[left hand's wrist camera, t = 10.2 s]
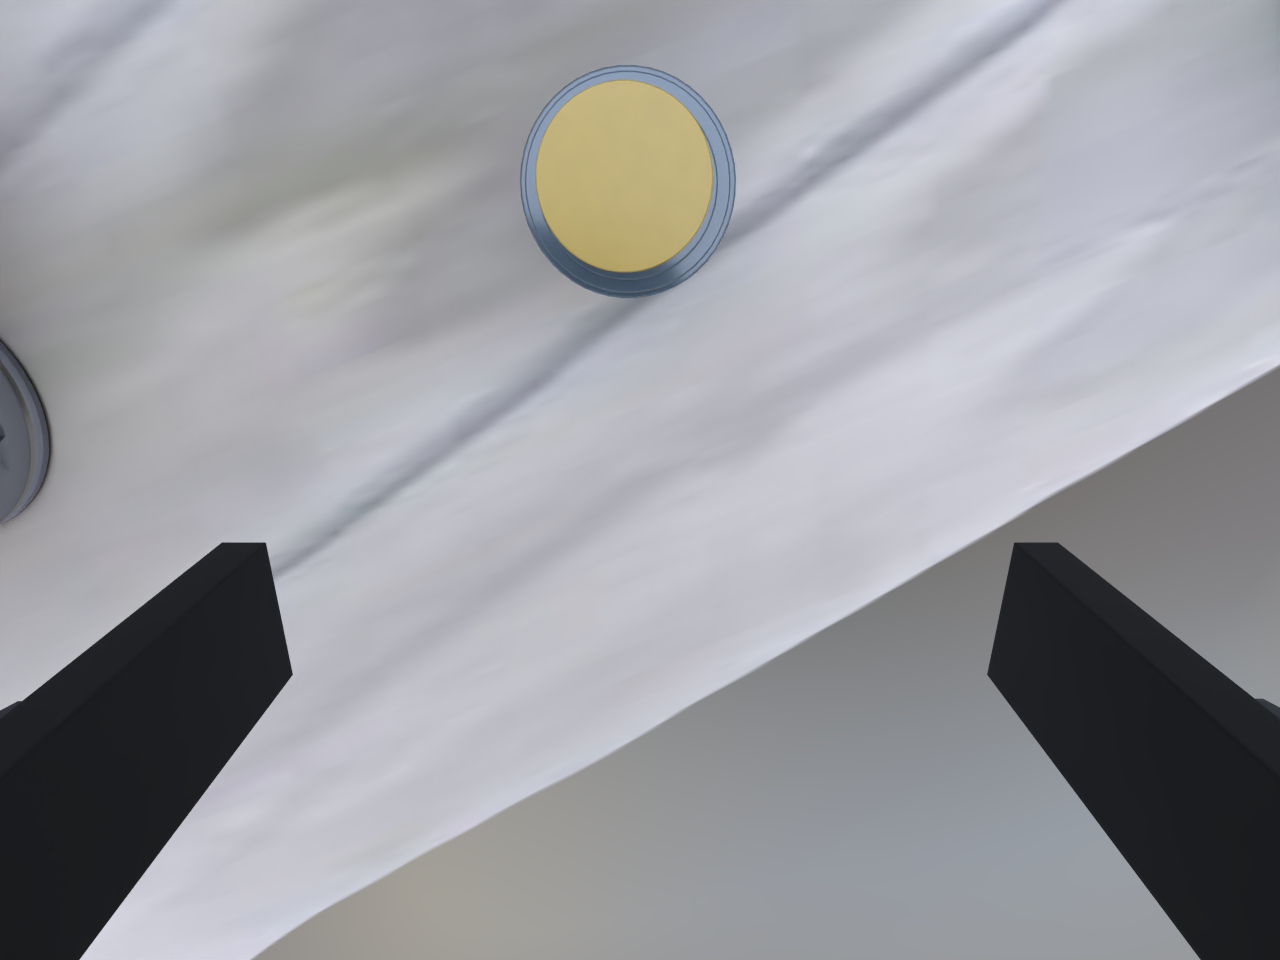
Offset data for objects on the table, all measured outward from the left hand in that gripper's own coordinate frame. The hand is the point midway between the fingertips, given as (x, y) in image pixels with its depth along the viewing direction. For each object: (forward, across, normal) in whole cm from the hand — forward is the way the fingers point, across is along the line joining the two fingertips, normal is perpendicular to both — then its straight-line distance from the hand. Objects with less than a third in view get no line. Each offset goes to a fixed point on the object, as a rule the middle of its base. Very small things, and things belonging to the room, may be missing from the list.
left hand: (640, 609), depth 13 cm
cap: (+6, 0, +7) cm, 9 cm away
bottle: (+29, 0, +7) cm, 30 cm away
